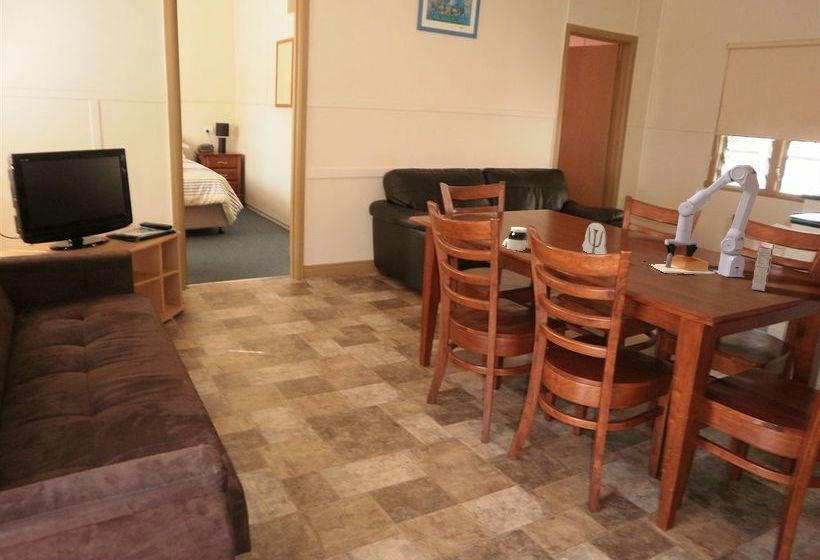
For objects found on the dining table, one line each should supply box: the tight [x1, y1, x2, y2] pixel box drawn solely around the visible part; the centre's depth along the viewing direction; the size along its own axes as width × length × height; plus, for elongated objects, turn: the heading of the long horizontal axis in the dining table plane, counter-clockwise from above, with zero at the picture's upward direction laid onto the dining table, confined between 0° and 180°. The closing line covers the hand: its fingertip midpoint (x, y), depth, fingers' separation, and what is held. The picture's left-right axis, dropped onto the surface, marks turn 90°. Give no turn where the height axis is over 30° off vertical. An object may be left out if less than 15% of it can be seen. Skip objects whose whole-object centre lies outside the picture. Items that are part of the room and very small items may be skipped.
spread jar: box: [502, 226, 529, 250], centre depth 276 cm, size 12×11×12 cm
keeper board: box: [649, 253, 716, 275], centre depth 261 cm, size 20×22×7 cm
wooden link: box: [671, 254, 710, 271], centre depth 262 cm, size 15×10×4 cm, turn 6°
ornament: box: [581, 222, 608, 255], centre depth 265 cm, size 22×13×17 cm, turn 15°
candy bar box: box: [750, 242, 775, 292], centre depth 234 cm, size 11×5×16 cm, turn 148°
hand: (678, 261), depth 268 cm, fingers open, 7 cm apart
